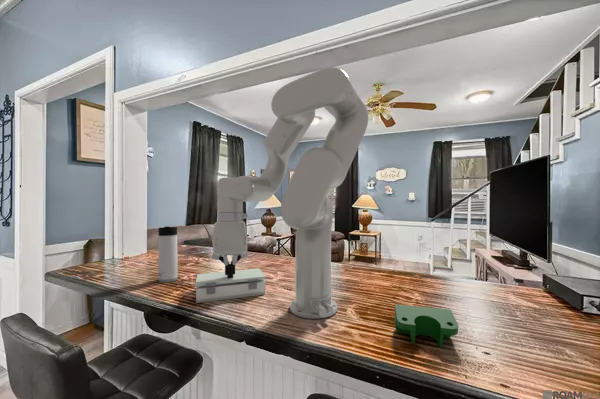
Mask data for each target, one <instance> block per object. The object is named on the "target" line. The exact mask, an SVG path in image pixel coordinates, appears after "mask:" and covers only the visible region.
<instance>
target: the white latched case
mask: <svg viewBox="0 0 600 399" xmlns="http://www.w3.org/2000/svg"><path fill="white" fill-rule="evenodd" d="M266 284H267V283H266V279H265V280H258V281H254V282H248V281H246V282H237V283H227V284H218V285H216V286H207V287H205V286H199V287H195V291H196V292H195V299H196V300H195V303H196V304H198V303H205V302H214V301H221V300H229V299H230V300H231V299H237V298H238V299H239V298H248V297H255V296H263V295H266V290H267V289H266Z"/></svg>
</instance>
